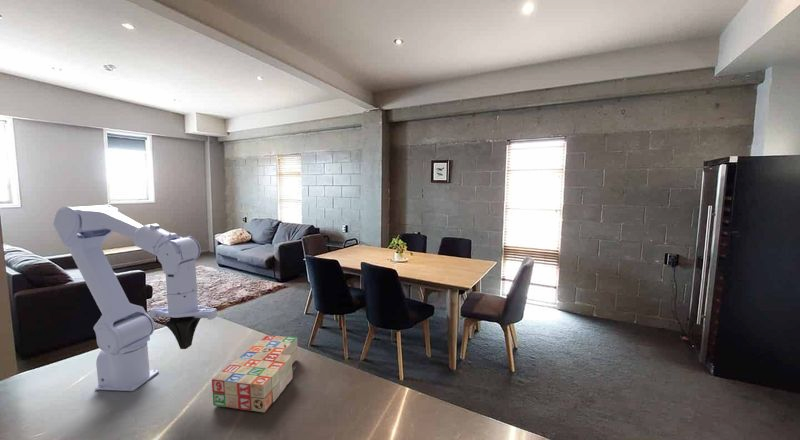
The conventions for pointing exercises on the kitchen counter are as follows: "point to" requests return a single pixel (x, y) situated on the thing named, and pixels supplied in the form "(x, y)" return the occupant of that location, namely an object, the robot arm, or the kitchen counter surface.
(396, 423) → the kitchen counter surface
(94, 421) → the kitchen counter surface
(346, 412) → the kitchen counter surface
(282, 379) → the stack of blocks
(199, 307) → the robot arm
